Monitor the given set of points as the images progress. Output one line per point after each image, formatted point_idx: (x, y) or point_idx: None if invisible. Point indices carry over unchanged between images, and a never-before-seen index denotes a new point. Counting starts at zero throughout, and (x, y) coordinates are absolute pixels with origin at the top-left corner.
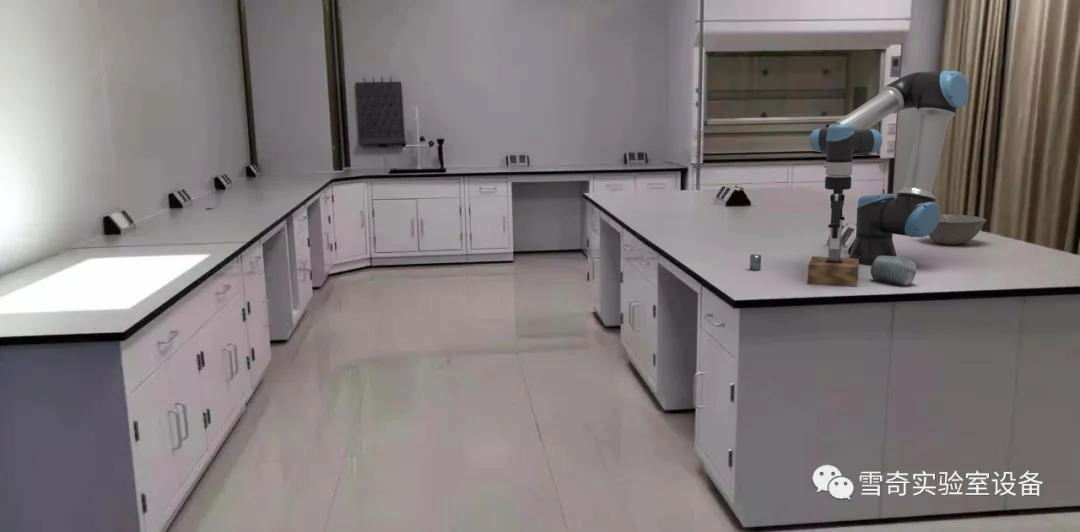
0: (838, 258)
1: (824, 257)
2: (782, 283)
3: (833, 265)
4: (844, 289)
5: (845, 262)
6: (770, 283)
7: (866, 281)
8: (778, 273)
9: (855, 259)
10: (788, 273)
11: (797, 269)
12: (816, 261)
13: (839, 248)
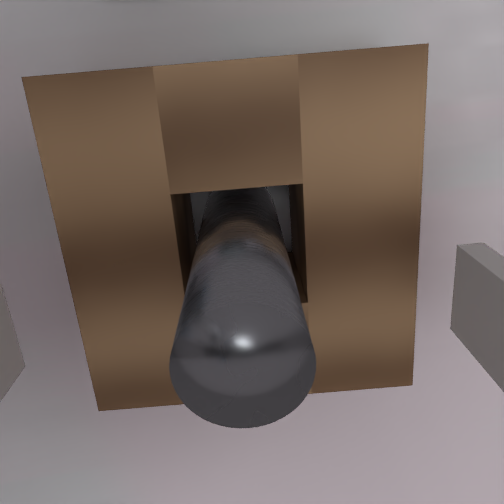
0: (271, 227)
1: (102, 334)
2: (399, 422)
3: (407, 233)
4: (475, 115)
5: (252, 165)
6: (413, 464)
7: (186, 3)
8: (164, 477)
9: (79, 102)
10: (142, 440)
11: (13, 422)
12: None
13: (272, 254)
